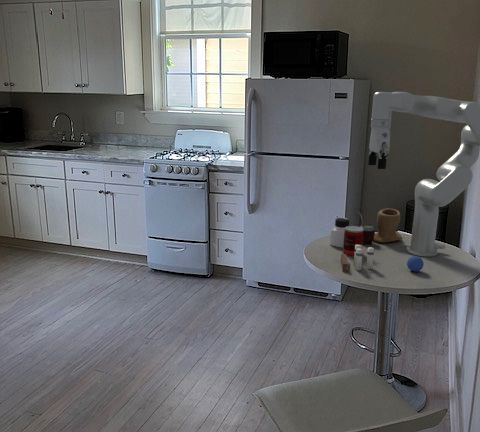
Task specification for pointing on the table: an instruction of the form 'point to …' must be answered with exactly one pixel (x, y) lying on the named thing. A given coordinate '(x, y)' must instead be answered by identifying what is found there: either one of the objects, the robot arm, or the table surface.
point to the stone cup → (387, 225)
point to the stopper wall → (344, 262)
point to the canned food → (352, 239)
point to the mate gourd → (367, 233)
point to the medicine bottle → (338, 232)
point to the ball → (415, 263)
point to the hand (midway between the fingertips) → (376, 166)
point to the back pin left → (358, 259)
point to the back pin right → (355, 251)
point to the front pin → (370, 258)
